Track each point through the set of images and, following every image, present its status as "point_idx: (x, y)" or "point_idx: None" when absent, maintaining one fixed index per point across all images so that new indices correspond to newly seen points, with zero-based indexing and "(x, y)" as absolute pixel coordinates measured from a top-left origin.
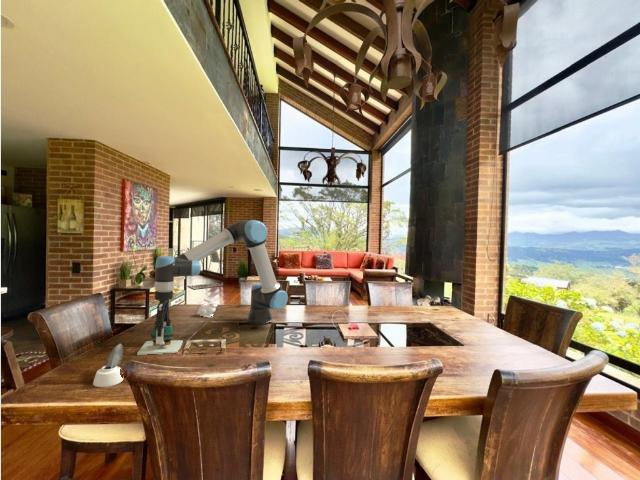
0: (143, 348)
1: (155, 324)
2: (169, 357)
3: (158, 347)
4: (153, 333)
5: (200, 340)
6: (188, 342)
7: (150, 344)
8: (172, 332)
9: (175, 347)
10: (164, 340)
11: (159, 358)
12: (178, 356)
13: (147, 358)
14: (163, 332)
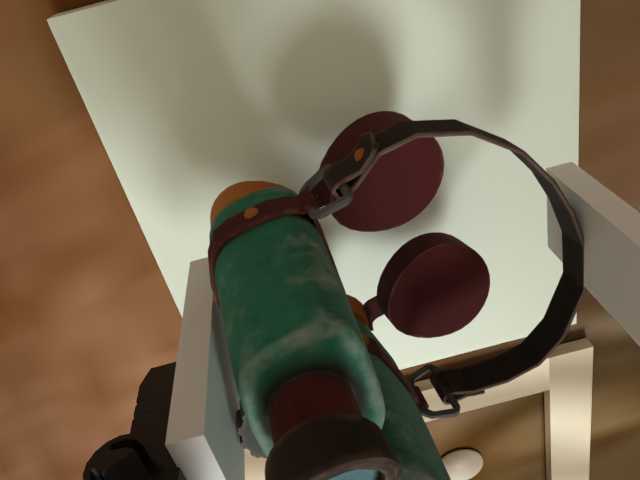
0: (242, 14)
1: (293, 424)
2: (115, 376)
3: None
4: (218, 293)
5: (573, 441)
6: (520, 380)
7: (423, 29)
8: (498, 383)
9: None
10: (397, 265)
11: (57, 310)
12: None
13: (7, 198)
14: (249, 445)
